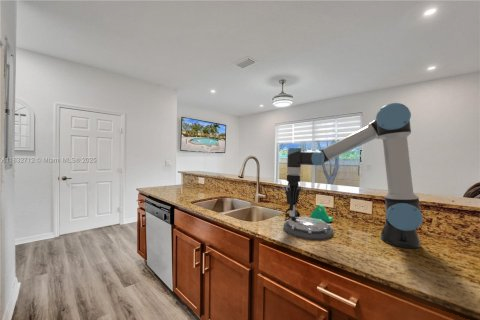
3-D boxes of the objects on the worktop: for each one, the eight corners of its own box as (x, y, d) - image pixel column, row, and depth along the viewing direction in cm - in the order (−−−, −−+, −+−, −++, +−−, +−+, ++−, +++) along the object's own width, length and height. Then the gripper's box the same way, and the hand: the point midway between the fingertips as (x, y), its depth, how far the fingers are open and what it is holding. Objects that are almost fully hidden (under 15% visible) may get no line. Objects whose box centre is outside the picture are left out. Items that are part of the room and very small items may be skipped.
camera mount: (332, 221, 132) (333, 205, 132) (329, 224, 126) (329, 207, 126) (314, 217, 139) (314, 202, 139) (309, 219, 134) (310, 204, 134)
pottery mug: (303, 221, 131) (298, 211, 129) (289, 227, 132) (284, 216, 131) (299, 212, 142) (294, 202, 141) (286, 217, 144) (281, 207, 142)
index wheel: (333, 225, 116) (333, 212, 116) (323, 236, 98) (323, 222, 98) (295, 217, 128) (295, 206, 128) (281, 226, 111) (281, 214, 110)
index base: (344, 236, 105) (344, 230, 105) (302, 242, 97) (302, 235, 97) (311, 221, 130) (311, 216, 130) (275, 224, 121) (275, 219, 121)
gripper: (294, 174, 123) (292, 213, 123) (281, 174, 115) (279, 216, 115) (305, 175, 118) (303, 215, 118) (292, 175, 109) (291, 219, 109)
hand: (291, 215), depth 116 cm, fingers closed
